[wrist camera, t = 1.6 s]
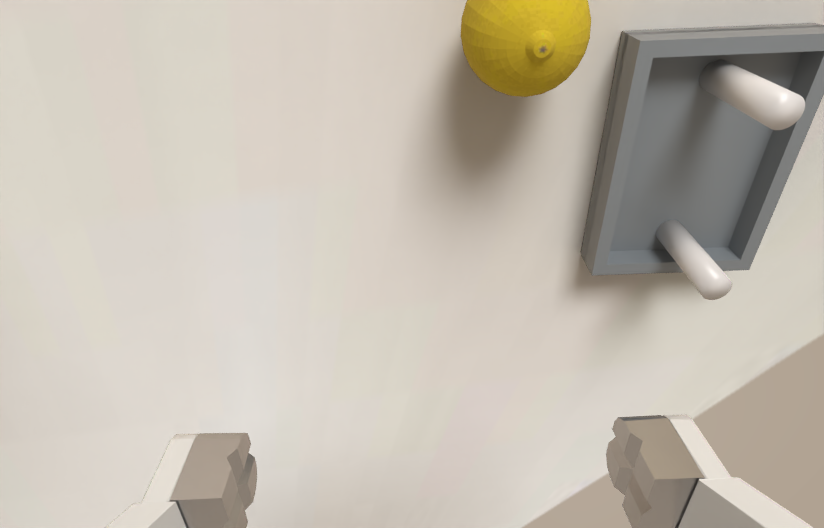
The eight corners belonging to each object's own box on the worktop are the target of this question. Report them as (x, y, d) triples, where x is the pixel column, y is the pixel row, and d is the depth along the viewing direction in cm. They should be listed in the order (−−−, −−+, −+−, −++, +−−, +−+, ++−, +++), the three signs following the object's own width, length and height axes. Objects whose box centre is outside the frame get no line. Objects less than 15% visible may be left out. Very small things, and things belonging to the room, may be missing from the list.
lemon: (452, 70, 27) (466, 119, 21) (458, -50, 24) (476, -36, 18) (553, 71, 27) (599, 120, 21) (572, -49, 24) (633, -35, 18)
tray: (622, 30, 26) (682, 63, 21) (815, 23, 26) (929, 53, 20) (580, 253, 34) (615, 321, 29) (728, 248, 34) (793, 316, 28)
